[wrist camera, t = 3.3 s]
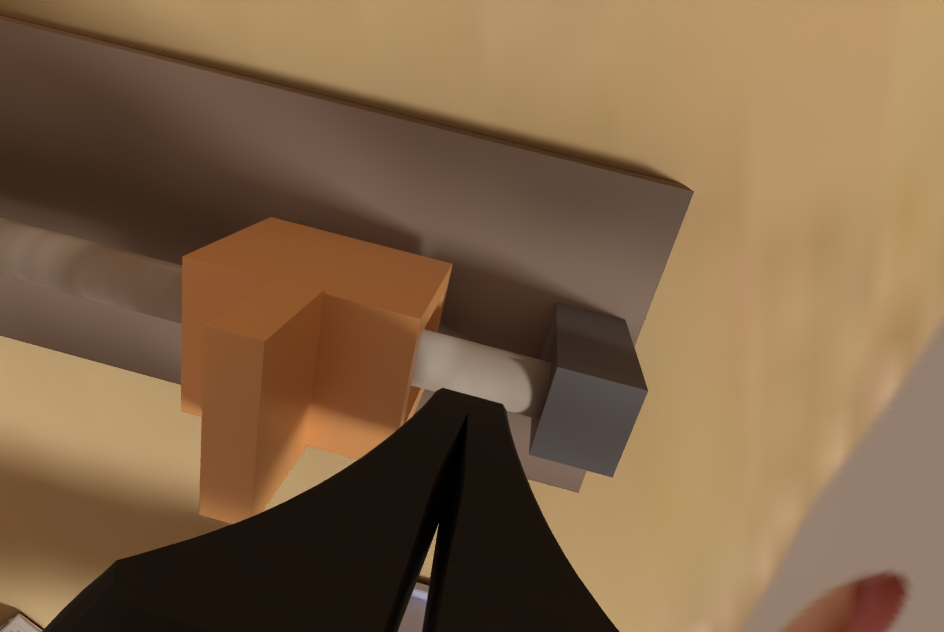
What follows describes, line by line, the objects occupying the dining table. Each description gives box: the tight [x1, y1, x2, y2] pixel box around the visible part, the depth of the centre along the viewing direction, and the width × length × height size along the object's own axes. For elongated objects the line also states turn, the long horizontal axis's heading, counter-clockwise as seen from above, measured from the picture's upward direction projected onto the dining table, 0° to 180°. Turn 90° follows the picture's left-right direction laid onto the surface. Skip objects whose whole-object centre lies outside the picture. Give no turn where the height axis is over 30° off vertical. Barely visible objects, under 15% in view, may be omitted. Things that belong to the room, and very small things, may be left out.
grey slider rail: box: [0, 15, 694, 493], centre depth 15 cm, size 10×28×6 cm, turn 77°
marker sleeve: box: [181, 217, 453, 524], centre depth 12 cm, size 4×5×6 cm
